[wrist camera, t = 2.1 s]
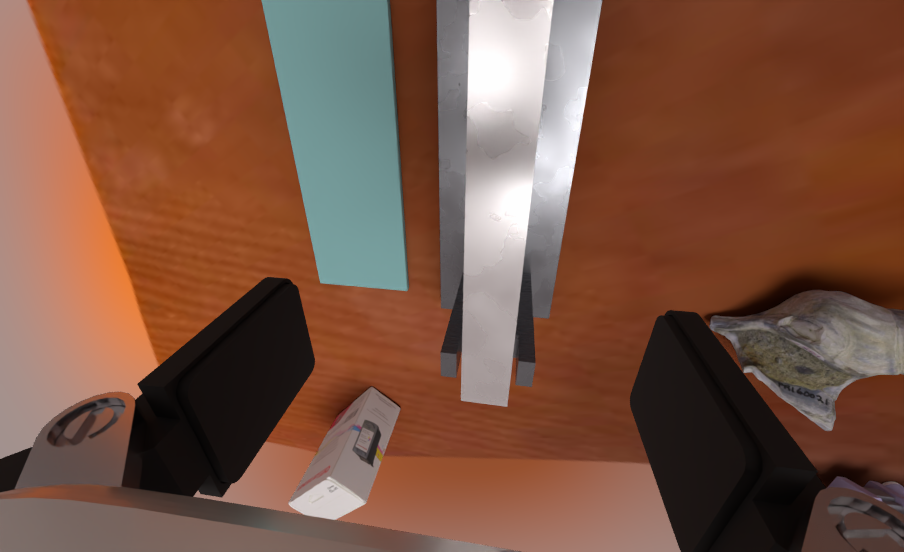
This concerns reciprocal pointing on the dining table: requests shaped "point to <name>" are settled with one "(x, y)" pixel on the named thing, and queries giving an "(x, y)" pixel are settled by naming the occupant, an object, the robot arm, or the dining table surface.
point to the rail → (499, 182)
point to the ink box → (347, 458)
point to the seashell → (817, 347)
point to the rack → (552, 169)
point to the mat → (344, 134)
